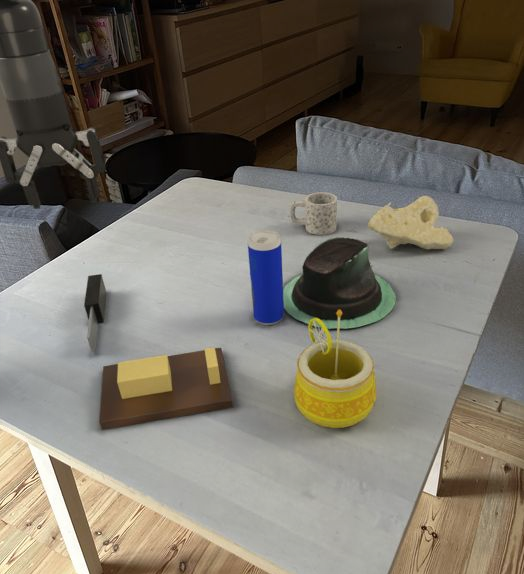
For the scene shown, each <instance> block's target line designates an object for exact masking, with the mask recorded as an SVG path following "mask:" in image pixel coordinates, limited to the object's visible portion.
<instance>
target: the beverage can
mask: <svg viewBox="0 0 524 574" xmlns="http://www.w3.org/2000/svg"><path fill="white" fill-rule="evenodd" d="M247 241H248V242H247V251H248V252H247V253H248V265H249V278H250V290H251V301H252V302H251V303H252V313H253V318H254V320H255V321H256V322H257V323H259V324H260V325H265V326H272V325H273V326H274V325H277V324H278V323H280V322H281V321H282V319H284V316H285V308H284V300H283V290H284V278H283V253H282V239H281V238H280V234H279V233H278V232H276V231H274V230H269V229H263V230H262V229H261V230H257V231H254V232H252V233H251V234H249V237H248V240H247Z"/></svg>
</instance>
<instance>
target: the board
mask: <svg viewBox="0 0 524 574" xmlns="http://www.w3.org/2000/svg"><path fill="white" fill-rule="evenodd" d="M215 352H216V357H217V362H218V368H219V376H220V383H217V384H211V385H210V381H209V375H208V368H207V362H206V356H205V349H203V350H196V351H191V352H184V353H178V354H172V355H167V356H168V361H169V365H170V370H171V380H172V391H168V392H162V393H156V394H150V395H144V396H138V397H132V398H126V399H122V397H121V393H120V390H119V387H118V383H117V376H118V363H115V364H109V365H103V367H102V377H101V378H102V379H101V392H100V402H99V403H100V405H99V418H98V424H99V426H100V430H101V431H102V430H103V431H104V430H109V429H115V428H120V427H127V426H133V425H138V424H143V423H149V422H156V421H161V420H167V419H173V418H174V419H175V418H178V417H185V416H191V415H196V414H202V413H208V412H214V411H219V410H227V409H230V408H231V409H232V408H234V403H233V402H234V401H233V397H232V392H231V391H232V390H231V386H230V381H229V377H228V373H227V372H228V371H227V368H226V362H225V357H224V353H223V348H222V347H215Z"/></svg>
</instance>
